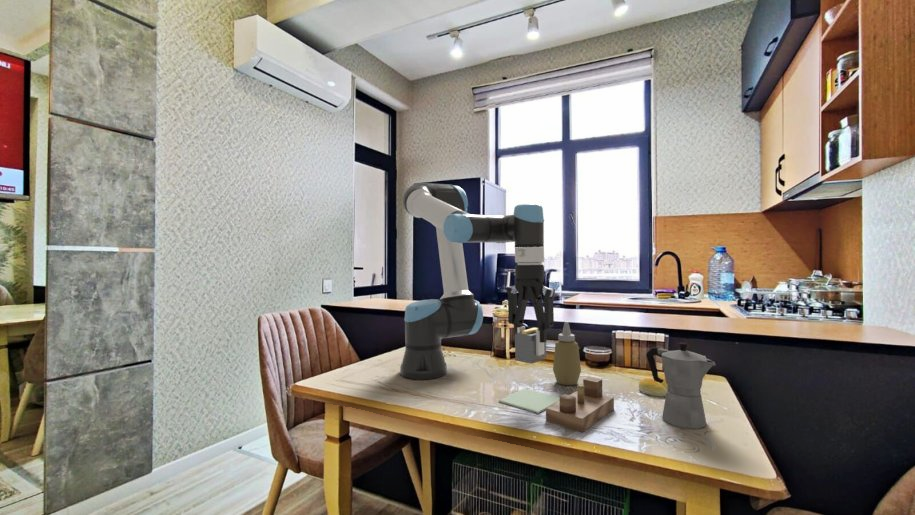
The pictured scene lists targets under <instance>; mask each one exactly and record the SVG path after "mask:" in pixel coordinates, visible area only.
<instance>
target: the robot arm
mask: <svg viewBox="0 0 915 515" xmlns="http://www.w3.org/2000/svg"><path fill="white" fill-rule="evenodd" d="M402 207H403V209H404V210H405V211H406V212H407V213H408V214H409V215H410V216H412V217H414V218H417V219H421V218H422V219H423V220H425V221H427V222H429V223H430V224H431V225H432V226H434V227H435V228H436V239H437V240H436V241H437V248H438V255H439V264H440V272H441V279H442V288H443V295H442V296H441V297H440V298H439V299H434V298H430V299H422V300H416V301H413V302H410V303H409V304H408V305H406V307H405V309H404V310H405V311H404V319H403V320H404V336H405V337H404V338H405V339H404V340H405V341H404V342H405V345H404V346H405V349H404V353H403V354H404V355H403V358H402V360H401V361H402V362H401V365H400V369H399V370H400V376H401V377H403V378H406V379H410V380H421V381H422V380H431V379H438V378H442V377H443V376H444V375H446V374H447V373H448V367H447V366H448V364H447V362H446V361H445V356H444V353H443V350H442V339H448V338H453V337H454V338H455V337H467V336H468V335H474V334H476V333H478V331H479V330H480V328H481V327H482V324H483V319H484V312H483V311H484V309H483V307H482V305H481V303H480V301H478V300H476V299H475V296H474V293H473V292H471V291H470V290H469V285H468V283H469V282H468V277H467V276H468V275H467V270H466V268H467V267H466V260H465V255H464V254H465V253H464V246H463V244H465V243H466V244H467V243H468V244H469V243H496V244H505V243H514V262H515V264H516V265H515V267H514V277H515V279H516V280H515V284H514V285H512V286H507V287H506V289H505V290H506V294H507V302H508V303H507V305H508V306H507V309H508V310H507V311H508V312H507V314H508V316H507V317H508V324H510V325H511V324H512V325H513V326H514V334H515V333H519V332H522V331H523V330H526V326H525V323H524V319H525V315H526V310H527V305H528V302H529V300H530V303H531V304H532V306H533V310H534V314H535V319H536V323H537V327H536V328H537V330H536V355H537V356H540V355H543V354H544V342H546V343H547V340H548V329H550V328H553V327H555V326H554V325H555V323H554V322H555V318H554V317H555V316H554V296H555V293H556V290H555V288H549V287H548V286H546V283H545V282H544V281H545V280H544V279H545V265H544V264H543V263H544V262H545V247H544V245H545V244H544V243H545V241H544V240H545V239H544V238H545V237H544V236H545V235H544V234H545V233H544V232H545V230H544V228H545V227H544V225H545V224H544V222H545V219H544V209H543V206H542V205H541V204H538V203H525V204H524V203H523V204H518V205H515V206H514V209H513V210H514V211H513V214H510V215H509V214H508V215H507V214H506V215H497V214H495V215H494V214H493V215H491V214H473V213H472V214H471V213H469V212H468V207H469V201H468V197H467V194H466V191H465V190H464V189H463V188H461V187H460V186H459V185H453V184H452V183H451V184H448V183H447V184H445V183H431V182H417V183H414V184H411V185H410V186H409V187H407V189H406V190H405V191H404V193H403V194H402ZM517 294H518V295H517ZM542 295H543V296H544V297H542Z"/></svg>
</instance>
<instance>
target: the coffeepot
mask: <svg viewBox="0 0 915 515" xmlns="http://www.w3.org/2000/svg"><path fill="white" fill-rule="evenodd" d="M687 346H688V343H687V342H684V341H683V342H679V348H680V349H678V350H668V349H665V348H659V347H654V346H653V347H652V346H651V348H650V349H648V351H646V359H647V362H648V365H649V368H650V371H651V374H652V375H651V376H652V378H654V380H655V381H656V382H659V383H662V382H663V379H660V378H659V377H660V376H659V374H658V373H659V372H658V368H657V365H656V359H655V357H654V356H657V357H660V358H661V360H662V367H663V373H664V374H663V375H664V378H665V380H666V383H667V392H666V396H665V398H664V399H665V400H664V405H663V410H662V416H661V419H662V420H663V421H664V422H666V423H667V424H669V425H672V426H674V427H677V428H682V429H687V430H698V429H699V430H700V429H703V428H705V427H706V423H707V420H706V413H705V408H704V404H703V397H702V393H701V392H702V391H701V389H702V386H703V380H704V378H705V376H706V374H707V373H708V372H709V371H710V369H711V368H712V367H713V366H716V362H715V361H713V360H712V359H709V358H707V356H706V355H702V354H699V353H696V352H693V351H690V350H687V348H688V347H687Z"/></svg>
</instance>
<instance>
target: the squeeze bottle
mask: <svg viewBox="0 0 915 515" xmlns="http://www.w3.org/2000/svg"><path fill="white" fill-rule="evenodd" d="M575 336H576V334H573V333H572V332H571V327H570V323H569V321H564V323H563V328H562V333H559V334H558V340H557V341H556V342H555V344H554V354H553V355H554V356H553V367H552V371H553V374H554V377H555V378H554V379H555V381H556V382H557V384H559V385H563V386H574V385H578V382H579V379H580V375H581V373H582V367H581V360H580V358H581V357H580V349H579V344H578V342H576V337H575Z"/></svg>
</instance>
